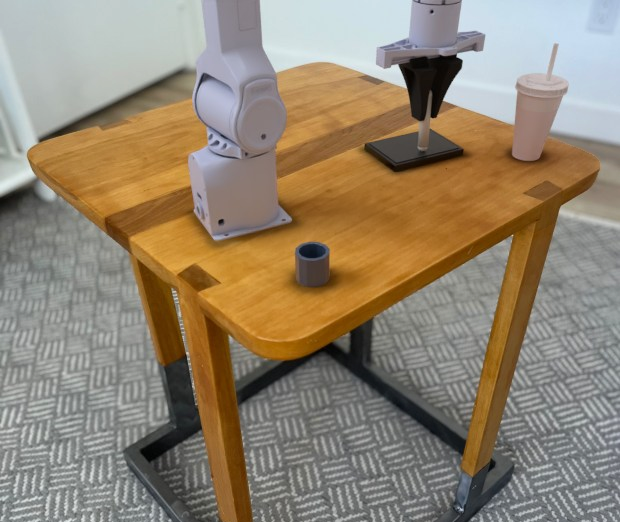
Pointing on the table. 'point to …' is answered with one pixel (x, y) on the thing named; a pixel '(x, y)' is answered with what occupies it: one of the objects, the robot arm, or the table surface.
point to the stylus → (425, 127)
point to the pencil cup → (312, 264)
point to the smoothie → (536, 110)
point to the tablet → (412, 150)
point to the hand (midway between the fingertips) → (424, 117)
